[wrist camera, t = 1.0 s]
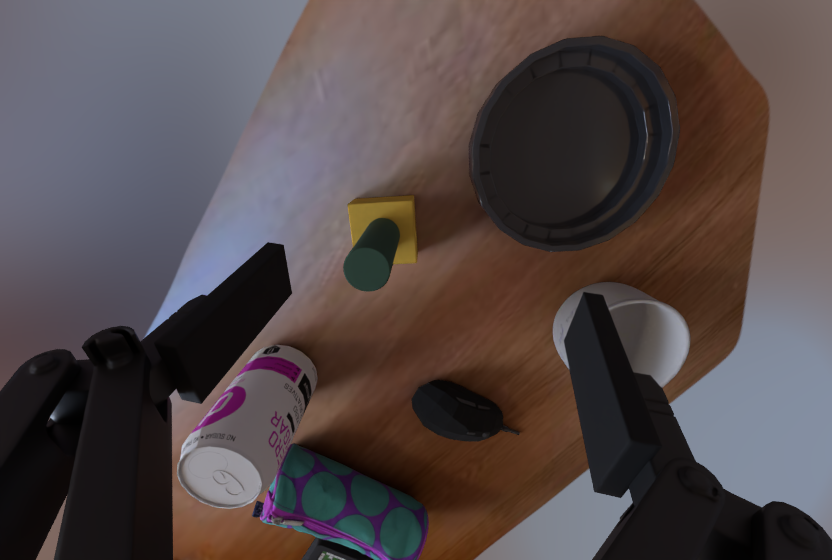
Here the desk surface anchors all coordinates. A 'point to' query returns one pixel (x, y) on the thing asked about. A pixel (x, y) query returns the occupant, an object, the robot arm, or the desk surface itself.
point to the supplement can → (248, 429)
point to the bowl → (574, 143)
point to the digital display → (332, 551)
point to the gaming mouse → (457, 412)
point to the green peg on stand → (380, 239)
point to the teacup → (635, 329)
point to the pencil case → (344, 507)
